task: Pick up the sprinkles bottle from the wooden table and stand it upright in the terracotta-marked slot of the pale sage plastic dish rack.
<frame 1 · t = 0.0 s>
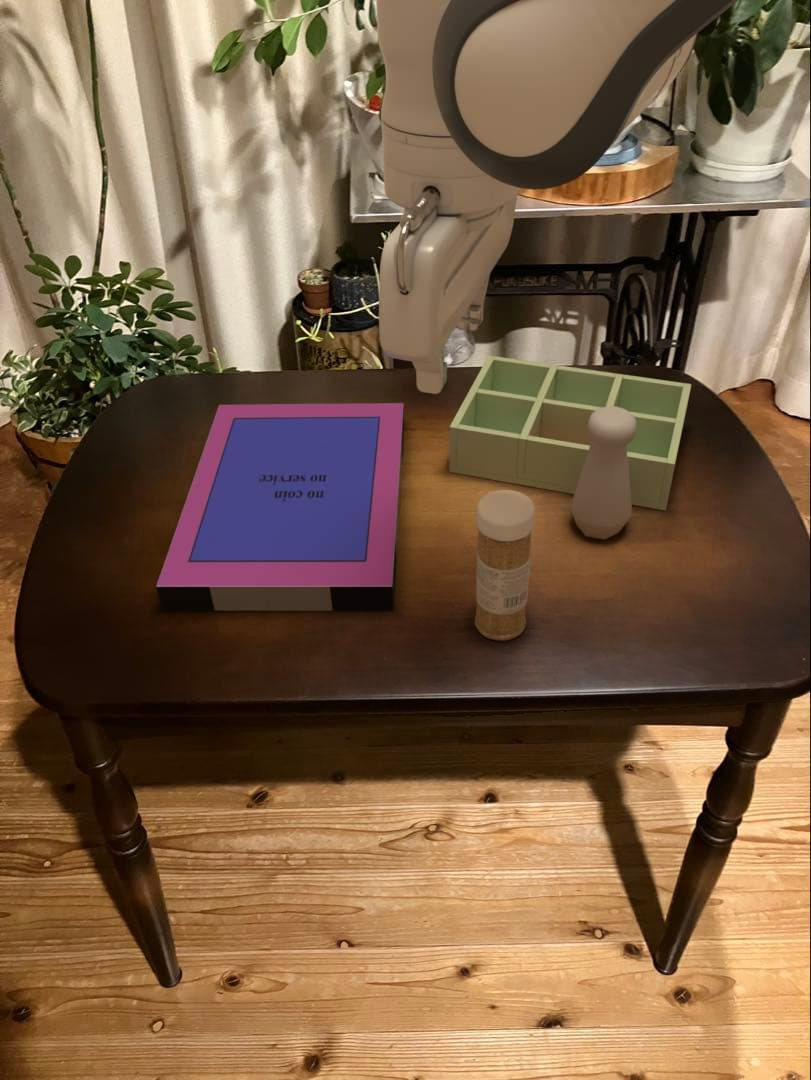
hand: (451, 355, 67), 25 cm above the table, tool pointing down, fingers open, 8 cm apart
book: (297, 508, 94), on the table
salt shaker: (598, 527, 90), on the table
rack: (568, 449, 100), on the table
sprinkles bottle: (499, 626, 80), on the table
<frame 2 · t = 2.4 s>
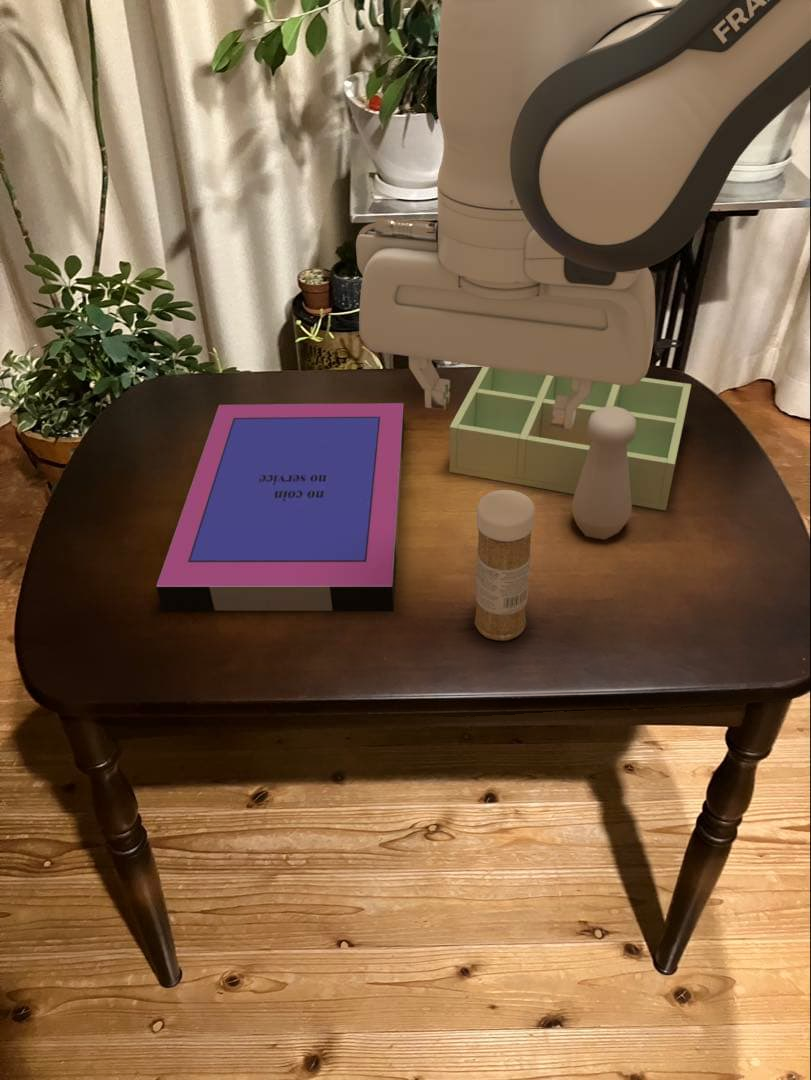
hand: (499, 414, 67), 21 cm above the table, tool pointing down, fingers open, 8 cm apart
nothing on the table moved.
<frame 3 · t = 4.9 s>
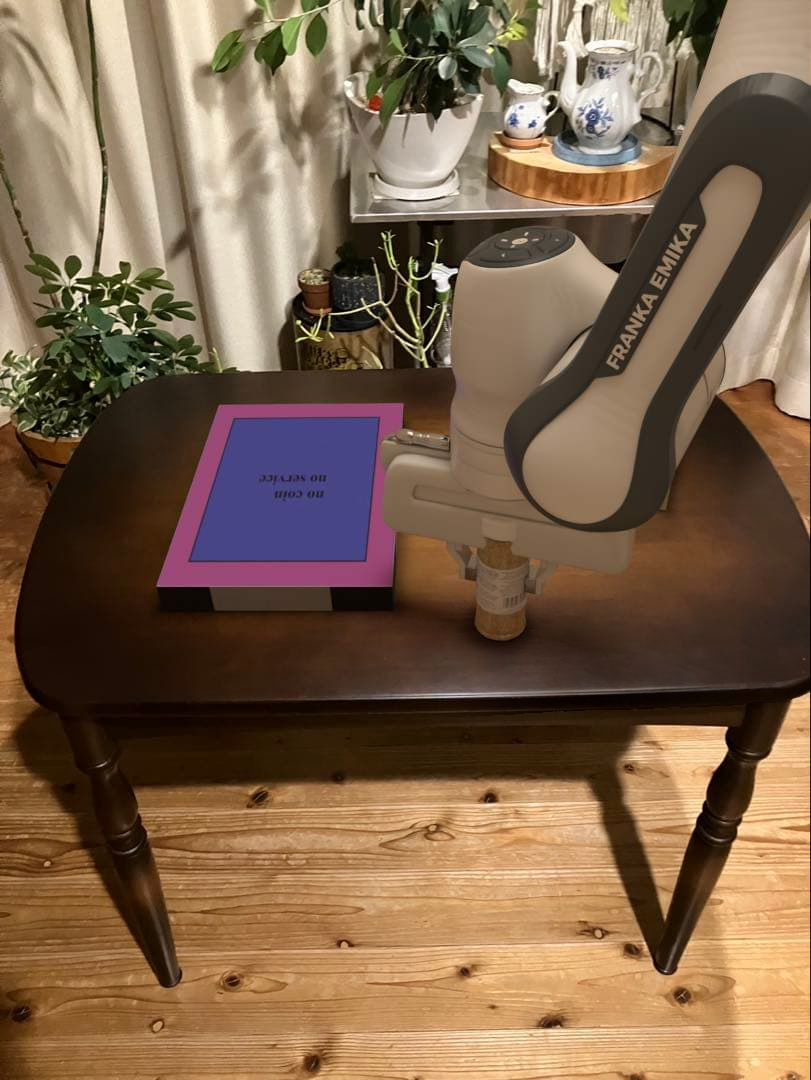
hand: (502, 582, 77), 5 cm above the table, tool pointing down, fingers closed on sprinkles bottle, 4 cm apart
sprinkles bottle: (499, 626, 80), on the table, touching gripper
everything else where it was.
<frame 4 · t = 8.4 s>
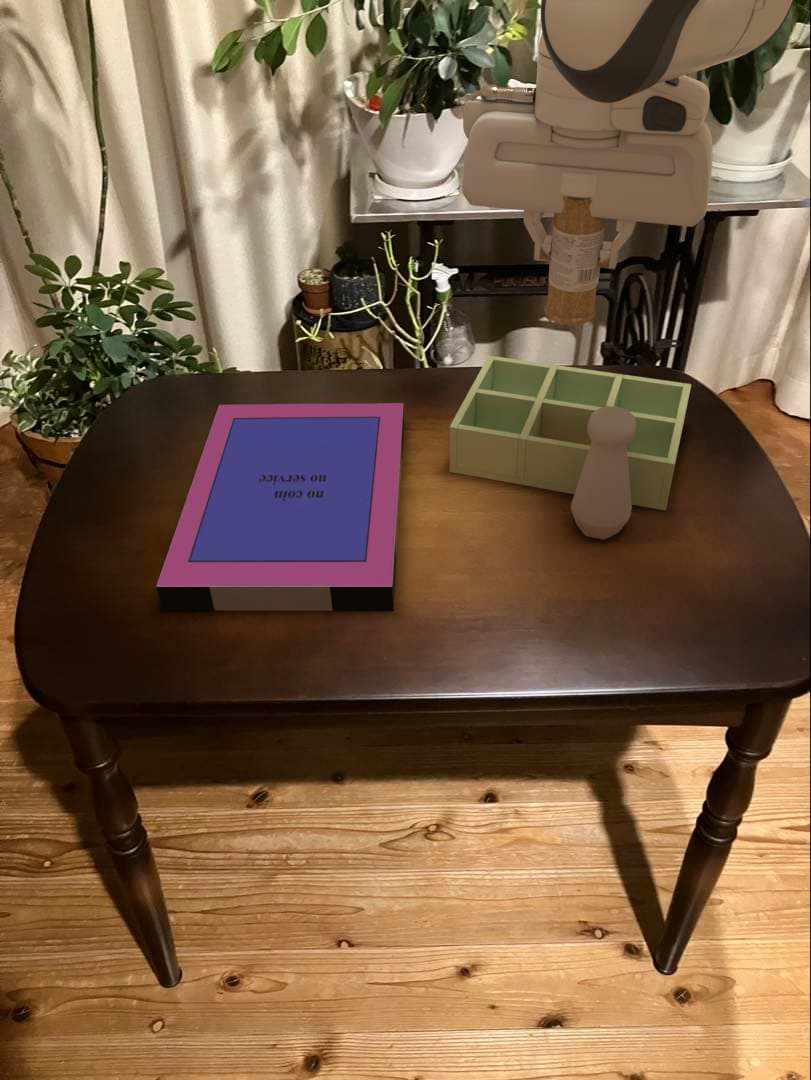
hand: (575, 262, 80), 24 cm above the table, tool pointing down, fingers closed on sprinkles bottle, 4 cm apart
sprinkles bottle: (569, 317, 83), point 19 cm above the table, touching gripper
everything else where it was.
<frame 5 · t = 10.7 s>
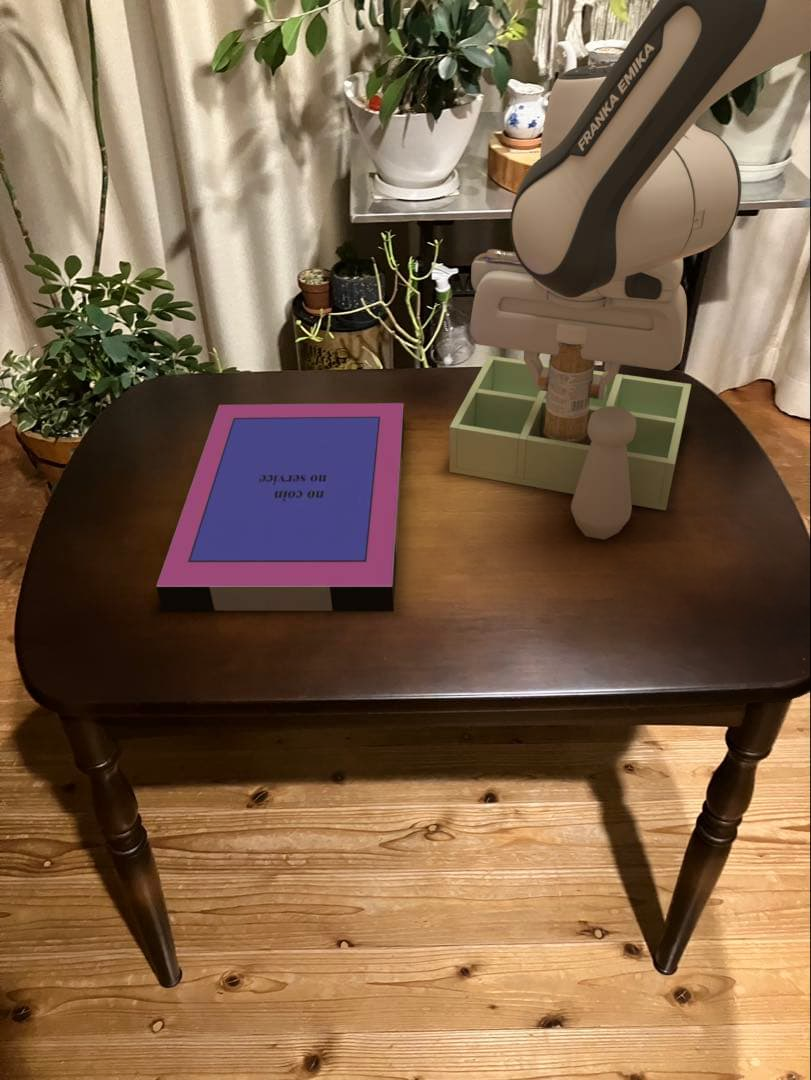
hand: (569, 391, 91), 10 cm above the table, tool pointing down, fingers closed on sprinkles bottle, 4 cm apart
sprinkles bottle: (564, 435, 95), point 4 cm above the table, touching gripper
everything else where it was.
when the fingers open (6 cm above the table, at t = 12.1 s): sprinkles bottle stays where it is, resting on rack.
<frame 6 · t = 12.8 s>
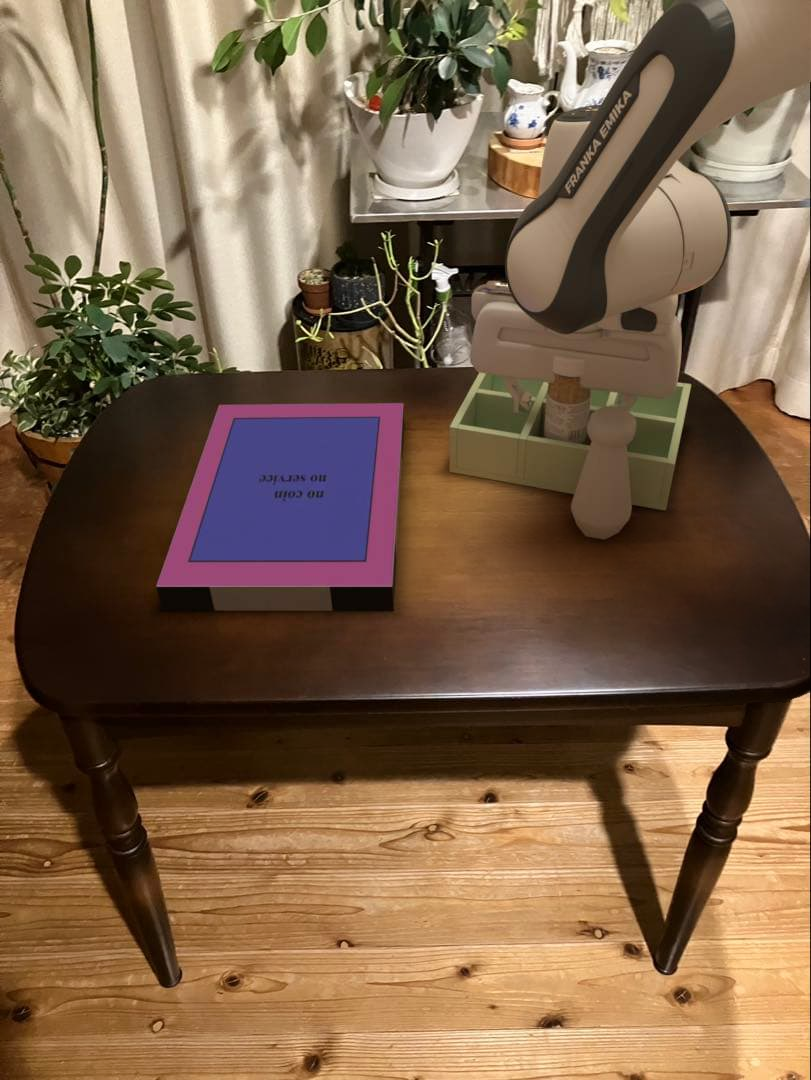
hand: (567, 418, 93), 6 cm above the table, tool pointing down, fingers open, 8 cm apart
sprinkles bottle: (561, 463, 97), point 1 cm above the table, touching rack
everything else where it was.
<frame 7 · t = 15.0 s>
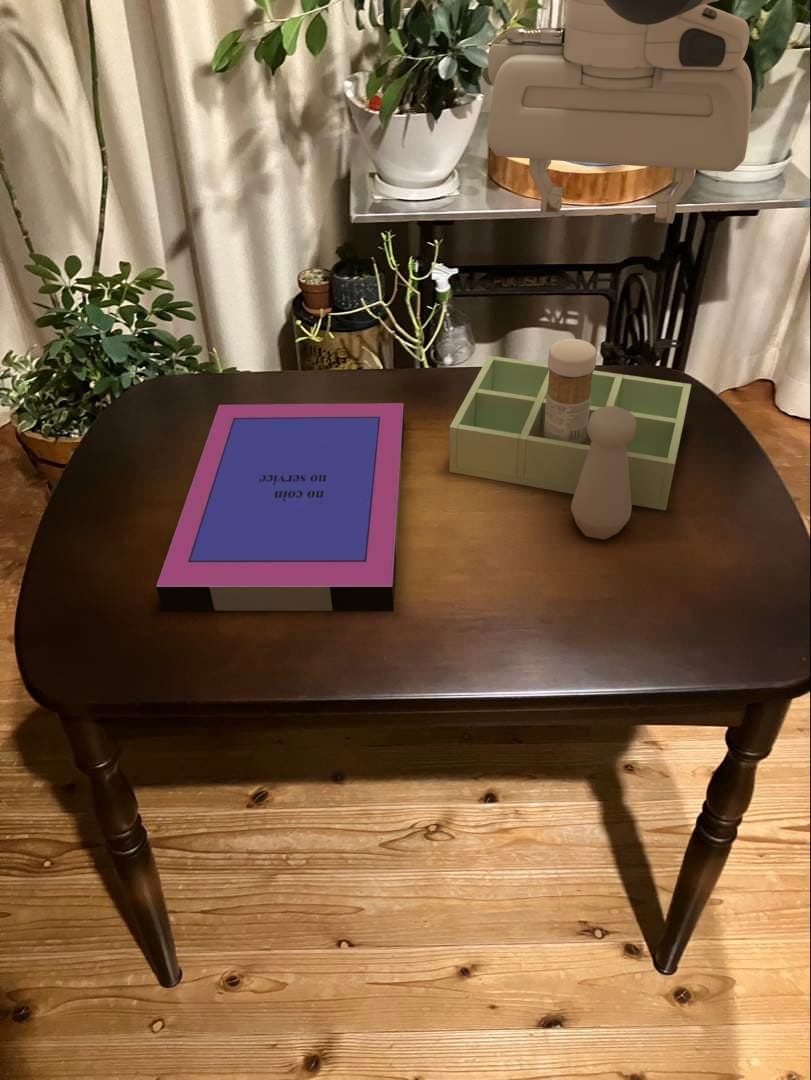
hand: (606, 215, 76), 29 cm above the table, tool pointing down, fingers open, 8 cm apart
nothing on the table moved.
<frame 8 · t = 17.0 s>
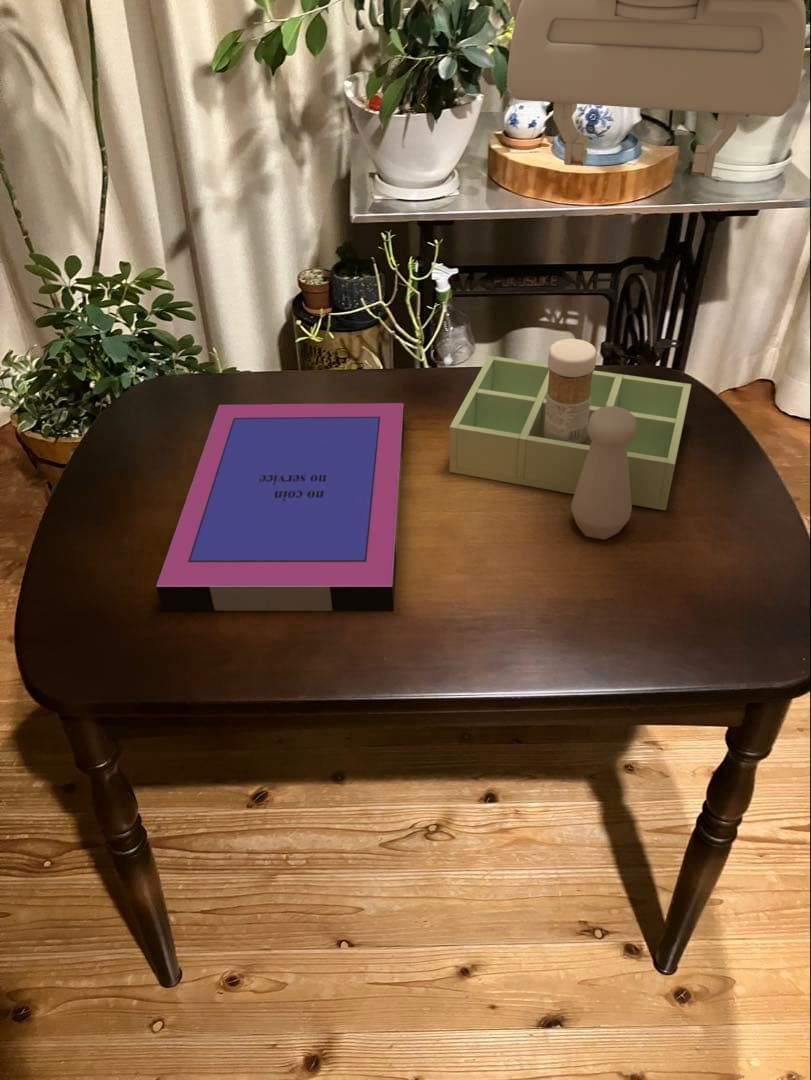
hand: (637, 168, 69), 34 cm above the table, tool pointing down, fingers open, 8 cm apart
nothing on the table moved.
at the end: sprinkles bottle 0.1 cm from the target spot in the rack, point 0.8 cm above the rack's base; sprinkles bottle tilted 0° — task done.
